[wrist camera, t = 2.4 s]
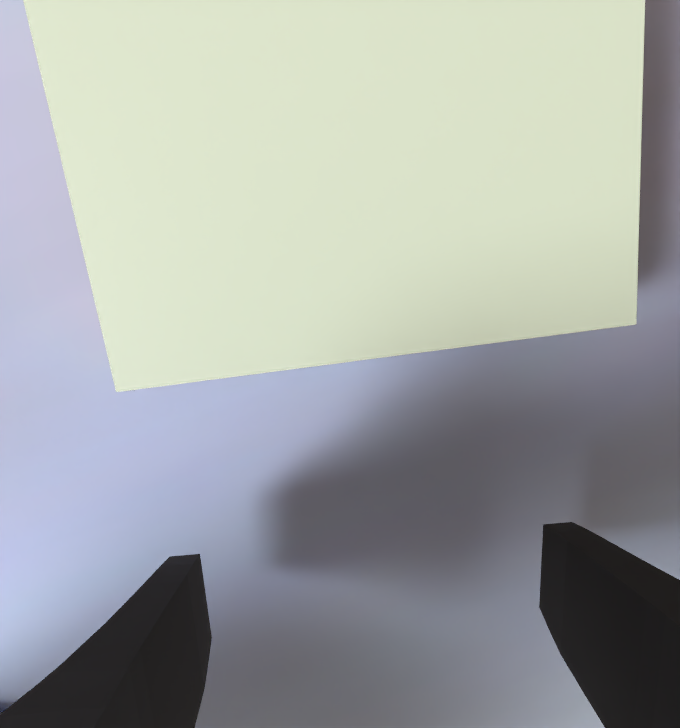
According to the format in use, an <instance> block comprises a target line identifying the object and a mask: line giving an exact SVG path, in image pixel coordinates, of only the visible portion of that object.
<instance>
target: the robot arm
mask: <svg viewBox="0 0 680 728" xmlns="http://www.w3.org/2000/svg"><path fill="white" fill-rule="evenodd" d="M539 607H540V610H541V612H542V614H543V616H544V619H545V621H546V623H547V626H548V628H549V630H550V633H551V635H552V637H553V639H554V641H555V643H556V645H557V647H558V650H559V652H560V654H561V656H562V657H563V659H564V661H565V662H566V664H567V666H568V667H569V669H570V671H571V672H572V674H573V676H574V677H575V679H576V681H577V682H578V684H579V686H580V687H581V689H582V691H583V692H584V694H585V696H586V697H587V699H588V700H589V702H590V704H591V705H592V707H593V709H594V710H595V712H596V714H597V715H598V717H599V718H600V720H601V722H602V723H603V725H604V727H605V728H680V580H679V579H677V578H675V577H673V576H671V575H669V574H667V573H665V572H663V571H662V570H660V569H658V568H656V567H654V566H652V565H651V564H649V563H647V562H645V561H643V560H641V559H640V558H638V557H636V556H634V555H632V554H631V553H629V552H627V551H625V550H623V549H622V548H620V547H618V546H616V545H615V544H613V543H611V542H609V541H607V540H606V539H604V538H602V537H600V536H598V535H596V534H595V533H593V532H591V531H589V530H587V529H585V528H583V527H581V526H579V525H577V524H575V523H572V522H567V523H556V524H544V525H543V543H542V564H541V585H540V606H539ZM211 638H212V637H211V630H210V623H209V616H208V609H207V602H206V595H205V587H204V580H203V573H202V566H201V559H200V554H195V555H184V556H172V557H169V558H168V559H167V560H166V561H165V562H164V563H163V564H162V565H161V566H160V567H159V568H158V569H157V570H156V571H155V573H154V574H153V575H152V576H151V577H150V578H149V579H148V580H147V581H146V582H145V583H144V584H143V585H142V586H141V587H140V588H139V589H138V590H137V591H136V592H135V594H134V595H133V596H132V597H131V598H130V599H129V600H128V601H127V602H126V603H125V604H124V605H123V606H122V607H121V608H120V609H119V610H118V611H117V612H116V613H115V614H114V615H113V616H112V617H111V618H110V619H109V620H108V621H107V622H106V623H105V624H104V625H103V626H102V627H101V628H100V629H99V630H98V631H97V632H96V633H94V634H93V635H92V636H91V637H90V638H89V639H88V640H87V641H86V642H85V643H84V644H83V645H82V646H80V647H79V648H78V649H77V650H76V651H75V652H74V653H73V654H72V655H71V656H70V657H69V658H68V659H67V660H65V661H64V662H63V663H62V664H61V665H60V666H59V667H58V668H56V669H55V670H54V671H53V672H52V673H51V674H49V675H48V676H47V677H46V678H45V679H43V680H42V681H41V682H40V683H39V684H38V685H36V686H35V687H34V688H33V689H31V690H30V691H29V692H27V693H26V694H25V695H24V696H22V697H21V698H20V699H19V700H17V701H16V702H15V703H14V704H12V705H11V706H10V707H9V708H7V709H6V710H5V711H3V712H2V713H0V728H194V727H195V723H196V719H197V715H198V712H199V708H200V704H201V700H202V696H203V692H204V687H205V681H206V674H207V668H208V661H209V653H210V646H211Z"/></svg>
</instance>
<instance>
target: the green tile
mask: <svg viewBox="0 0 680 728" xmlns="http://www.w3.org/2000/svg"><path fill="white" fill-rule="evenodd" d="M23 1H24V5H25V9H26V14H27V18H28V22H29V26H30V31H31V35H32V39H33V43H34V47H35V52H36V56H37V60H38V64H39V68H40V73H41V77H42V81H43V85H44V90H45V94H46V98H47V102H48V106H49V111H50V115H51V119H52V123H53V127H54V132H55V136H56V140H57V144H58V149H59V153H60V157H61V161H62V165H63V170H64V174H65V178H66V182H67V187H68V191H69V195H70V199H71V203H72V208H73V212H74V216H75V220H76V224H77V229H78V233H79V237H80V241H81V246H82V250H83V254H84V258H85V262H86V267H87V271H88V275H89V279H90V283H91V288H92V292H93V296H94V300H95V305H96V309H97V313H98V317H99V321H100V326H101V330H102V334H103V338H104V342H105V347H106V351H107V355H108V359H109V364H110V368H111V372H112V376H113V380H114V385H115V389H116V392H121V391H129V390H136V389H144V388H152V387H159V386H167V385H175V384H183V383H190V382H198V381H206V380H213V379H221V378H229V377H236V376H244V375H252V374H259V373H267V372H275V371H283V370H290V369H298V368H306V367H313V366H321V365H329V364H336V363H344V362H352V361H359V360H367V359H375V358H382V357H390V356H398V355H406V354H413V353H421V352H429V351H436V350H444V349H452V348H459V347H467V346H475V345H482V344H490V343H498V342H506V341H513V340H521V339H529V338H536V337H544V336H552V335H559V334H567V333H575V332H582V331H590V330H598V329H605V328H613V327H621V326H629V325H636V316H637V279H638V242H639V206H640V169H641V132H642V95H643V58H644V21H645V0H23Z"/></svg>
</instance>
